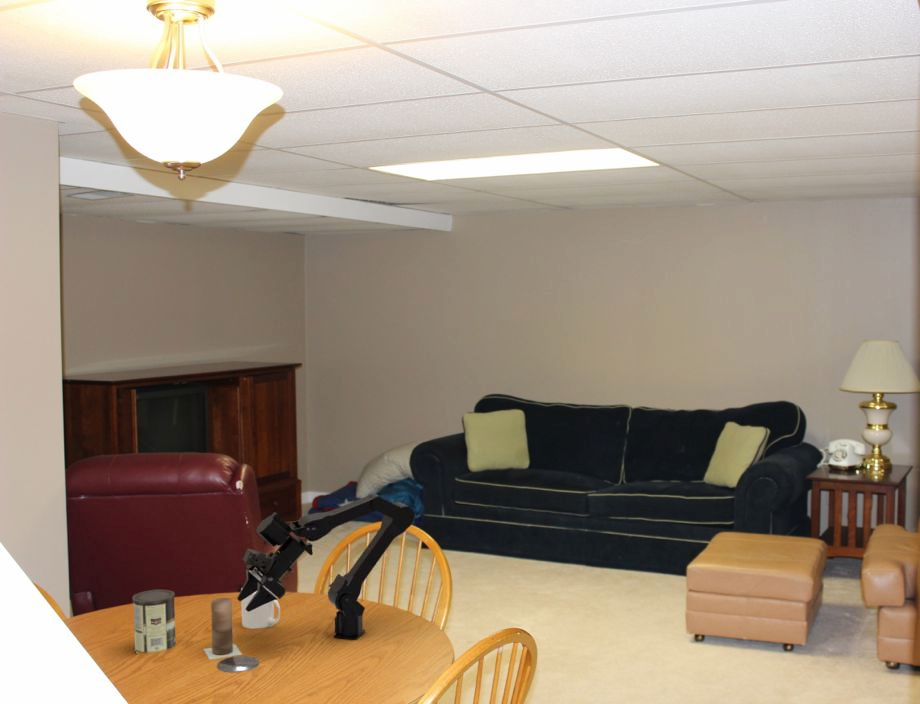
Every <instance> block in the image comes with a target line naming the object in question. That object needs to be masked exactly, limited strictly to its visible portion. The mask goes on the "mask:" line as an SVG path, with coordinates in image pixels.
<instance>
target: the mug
mask: <svg viewBox="0 0 920 704" xmlns="http://www.w3.org/2000/svg"><path fill="white" fill-rule="evenodd" d="M241 590H242V588H241V589H240V591H241ZM256 592H257V591H256ZM256 592H254V593H253V594H251V595H250V596H248V597H247V598H245V599H244V600H242V601H240V602H241V603H240V604H241V625H242V628H243V627H244V628H247V629H250V630H251V629H253V630H254V629H255V630H256V629H263V628H264V629H265V628H273V627H274V625H275V624H277V623H279V621H280V619H281V605H280V603H279V601H278V599H277V600H273V601H271V602H269V603H266V604H264V605H262V606H260V607H258V608H256V609H254V610H251V611H249V612H248V611H247V610H246V607H247V605H248V604H249V602H250V601H251V599H252V598H253V596H254V595H255V594H256ZM274 605H275V606H276V608H277V610H278V616H277V617H276V618H275V606H274Z"/></svg>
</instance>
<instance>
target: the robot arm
mask: <svg viewBox="0 0 920 704" xmlns="http://www.w3.org/2000/svg"><path fill="white" fill-rule="evenodd" d="M374 512H378V513H381V514H382V515H383V517H382V520H381V525H380V527H379V530H378V531H377V532H376V534H375V535H374V537H372V539H371V540H370V542H369V543H368V544H367V546H366V547H365V549H364V550H363V551H362V552H361V555H360V556H359V557H358V559H357V560H356V562H354V565H353V566H352V567H351V569H350V570H349V571H348V572H347V573H345V574H344V575H343V576H342V575H341V574H340V573H338V574H337V575H336V576H335V578H334V580H333V581H332V582H331V583H329V585H328V587H329V590H328V592H327V598H328V600H329V602H331V604H332V605H333V606H334V607H335V609H336V610H337V612H336V613H335V614H336V615H335V617H334V633H335V634H334V635H333V638H336V639H346V640H347V638H348V640H358V639H359V638H360V637H361V636H362V635H364V634H365V632H366V630H365V629H363V628H364V627H363V616H364V612H365V610H366V608H365V606H364V605H363V604H362V603H360V602H359V601H358V599H359V596H360V594H361V591H362V588H363V583H364V582H365V581H366V579H367V577H368V576H369V574H370V573H371V572H372V571H373V569H374V568H375V566H377V563H379V561H380V559H381V558H382V557H383V555H384V554H385V552H386V551H387V550H388V548H389V547H390V545H391V544H392V543H393V541H394V540H395V539H396V538H397V537H399V536H401V535H402V534H403V533H405V532H406V531H407V530H408V529H409V528H410V527H411V526H412V525H413V524H414V521H415V519H416V515H415V512H414V510H413V508H412V507H410V506H408V505H407V504H404V503H402V502H399V501H396V502H391V501H389V500H387V499H385V498H383V497H382V496H380V495H378V494H376V493H369V494H367V496H364V497H362V498H359V499H357V500H354V501H351V502H349V503H347V504H344V505H342V506H339V507H337V508H335V509H332V510H329V511H325V512H314V513H310V514H305V515H303V516H301V517H300V518H298V519H299V520H298V519H297V520H294V521H291V522H286V521H284V519H282V518H281V517H282V516H280V515H279V514H278V513H276V512H273V513H272V514H271V515H269V516H267V517H266V518H264V519H262V520H261V522H260V523H259V525H258V526H257V527H256V530H255V533H257V534H258V535H259V536H260V537H261V538H262V539H263V540H265V541H266V542H267V543H268V544H269V545H270V546H271V547H275V546H278V547H277V549H276V550H275V551H269V552H268V553H267V554H266V553H265V552H261V551H257V550H255V549H251V548H247V549H246V552H245V554H244V557H243V558H242V561H244V564H245V565H246V566H245V567H246V568H247V569H245V572H246V579H245V582H244V584H243V586H242V587H241V589H242V590H241V589H240V591H239V594H238V596H237V598H236V599H237V601H238V602H241V601H242V600H244V599H245V598H247V597H248V596H250V595H251V594H253V593H254V592H256V591H257V592H256V594H255V595H254V596H253V598H252V599H251V601H250V602H249V604H248V605H247V607H246V610H247V611H248V612H249V611H251V610H254V609H256V608H258V607H260V606H262V605H264V604H266V603H269V602H271V601H273V600H277V601H278V599H279V600H281V599H282V598H283V596H285V594H286V587H284V586H283V585H282V584H281V583H282V581H281V579H282V578H283V577H284V576H285V574H286V573H291V572H292V571H293V568H292V567H293V565H294V564H295V563H296V562H297V561H298V560H299V558H300V557H301V556H302V555H303V554H304V553H305V552H306V553H307V554H308V555H310V556H312V555H313V543H314V542H317V541H319V540H321V539H322V538H324V537H326V536H327V535H329V534H330V533H331V532H332V531H333V530H334V529H335V528H337V527H339V526H341V525H345V524H347V523H349V522H352V521H354V520H356V519H358V518H359V519H360V518H361V517H363V516H366V515H368V514H371V513H374ZM291 533H293V534H294V535H295V536H296V537H294V536H292V534H291ZM302 538H304V539H305V540H306V541H304V540H303V539H302ZM307 541H309V542H307ZM311 542H313V543H311ZM360 635H361V636H360ZM359 636H360V637H359ZM358 637H359V638H358ZM357 638H358V639H357Z"/></svg>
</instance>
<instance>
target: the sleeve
mask: <svg viewBox="0 0 920 704" xmlns="http://www.w3.org/2000/svg"><path fill="white" fill-rule="evenodd" d="M210 605H211V607H210V608H211V610H210V611H211V646H212V647H211V648H212V653H213V654H214V655H227V654H230V653H232V652H233V644H234V643H233V641H234V640H233V639H234V638H233V637H234V636H233V600H232V598H229V597H218V598H214V599H212V600H211V604H210Z"/></svg>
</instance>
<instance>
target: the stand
mask: <svg viewBox="0 0 920 704" xmlns="http://www.w3.org/2000/svg"><path fill="white" fill-rule="evenodd" d="M203 651H204V653H205V654H206V656H207V658H208V660H210V661H211V660H212V661H213V660H216V659H217V660H218V659H223V658H224V659H225V658H230V657H236V656H241V655H242V656H243V653H242V652H241V651H240V648H238V646H237V645H236V644H235V643H233V652H232V653H230V654H227V655H214V654H213V653H212V647H207V648H203Z"/></svg>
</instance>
